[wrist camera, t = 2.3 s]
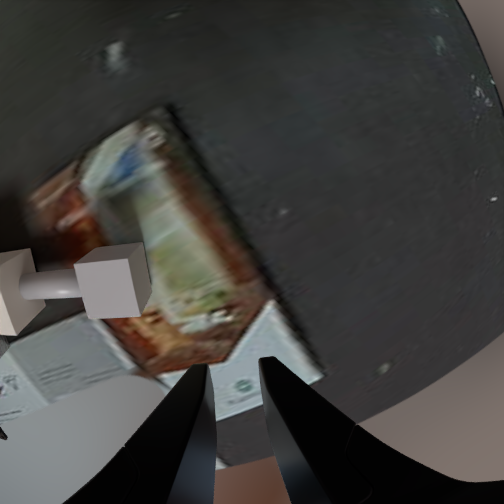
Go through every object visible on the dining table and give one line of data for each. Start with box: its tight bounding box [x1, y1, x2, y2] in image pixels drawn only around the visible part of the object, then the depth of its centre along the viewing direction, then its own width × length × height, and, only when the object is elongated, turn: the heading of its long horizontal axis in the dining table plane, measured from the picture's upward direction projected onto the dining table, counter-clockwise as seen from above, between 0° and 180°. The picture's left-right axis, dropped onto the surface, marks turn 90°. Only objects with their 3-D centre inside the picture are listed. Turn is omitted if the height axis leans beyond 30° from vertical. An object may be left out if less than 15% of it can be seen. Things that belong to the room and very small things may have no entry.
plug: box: [0, 242, 152, 336], centre depth 14 cm, size 4×16×4 cm, turn 94°
